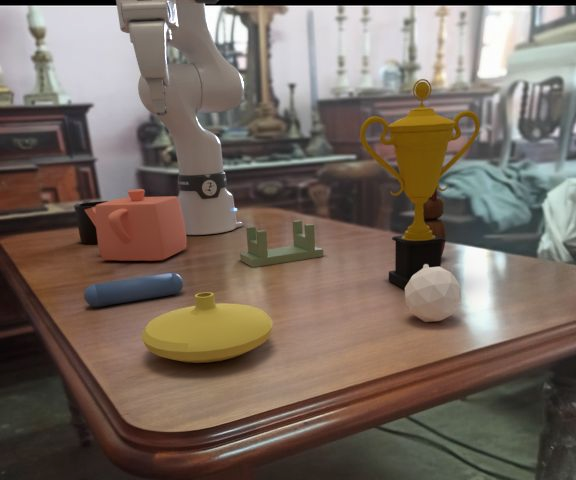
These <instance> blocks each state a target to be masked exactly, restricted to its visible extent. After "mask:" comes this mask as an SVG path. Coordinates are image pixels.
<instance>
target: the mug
mask: <svg viewBox="0 0 576 480" xmlns="http://www.w3.org/2000/svg"><path fill="white" fill-rule="evenodd" d="M108 201H109V200H102V201H101V200H99V201H89V202H82V203H78V204H75V205H74V212H75V218H76V223H77V229H78V235H79V240H80V243H82V244H84V245H98V239H97V231H96V227H95V225H94V224H93V222H92V221H91V219H90V218H89V216H88V215H87V213H86V212H85V209H89V208H92V207H95V206H96V205H98V204H101V203H105V202H108Z"/></svg>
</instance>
